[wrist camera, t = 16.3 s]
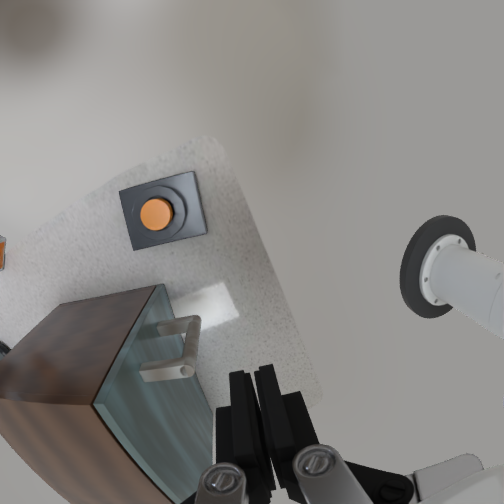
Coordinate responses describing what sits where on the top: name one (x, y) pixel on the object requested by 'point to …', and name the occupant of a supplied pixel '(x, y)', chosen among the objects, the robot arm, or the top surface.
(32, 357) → the cupboard
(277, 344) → the top surface
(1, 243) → the cosmetic box
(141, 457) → the cupboard door
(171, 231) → the switch block
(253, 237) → the top surface
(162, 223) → the button
